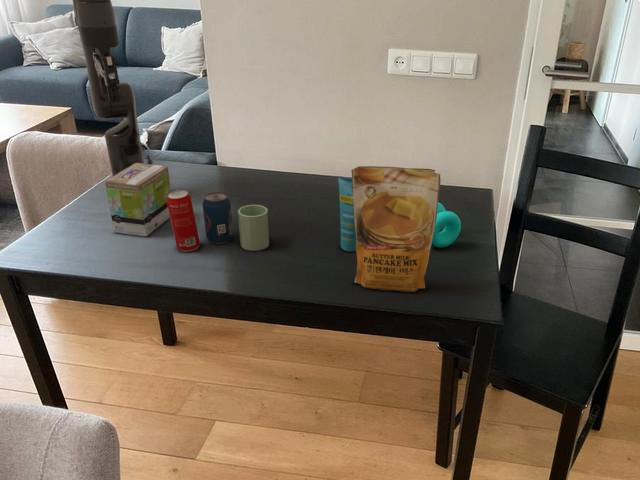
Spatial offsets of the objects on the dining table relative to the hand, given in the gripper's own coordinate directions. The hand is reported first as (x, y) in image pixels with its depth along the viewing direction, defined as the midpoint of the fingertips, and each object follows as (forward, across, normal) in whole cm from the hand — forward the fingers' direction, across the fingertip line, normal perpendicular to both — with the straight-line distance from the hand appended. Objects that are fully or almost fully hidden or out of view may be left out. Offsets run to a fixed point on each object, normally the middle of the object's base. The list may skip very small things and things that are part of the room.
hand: (111, 97), depth 137 cm
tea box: (+36, +5, -4) cm, 36 cm away
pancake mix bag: (+35, -53, -46) cm, 78 cm away
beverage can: (+36, -14, -10) cm, 39 cm away
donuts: (+35, -40, -68) cm, 87 cm away
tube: (+35, -33, -46) cm, 67 cm away
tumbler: (+35, -20, -26) cm, 48 cm away
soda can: (+36, -13, -18) cm, 42 cm away
